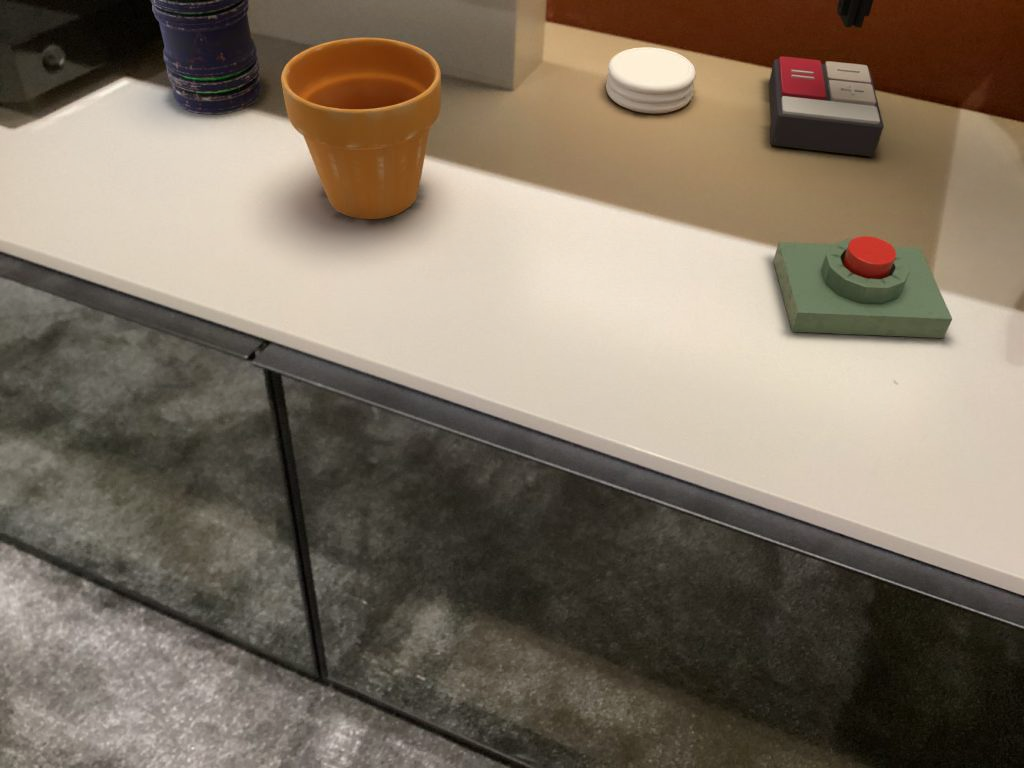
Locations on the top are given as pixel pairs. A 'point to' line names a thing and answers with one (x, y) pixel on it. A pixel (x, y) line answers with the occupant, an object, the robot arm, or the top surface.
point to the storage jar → (209, 54)
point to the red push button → (869, 257)
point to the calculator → (824, 106)
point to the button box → (859, 293)
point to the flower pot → (365, 119)
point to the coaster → (650, 80)
